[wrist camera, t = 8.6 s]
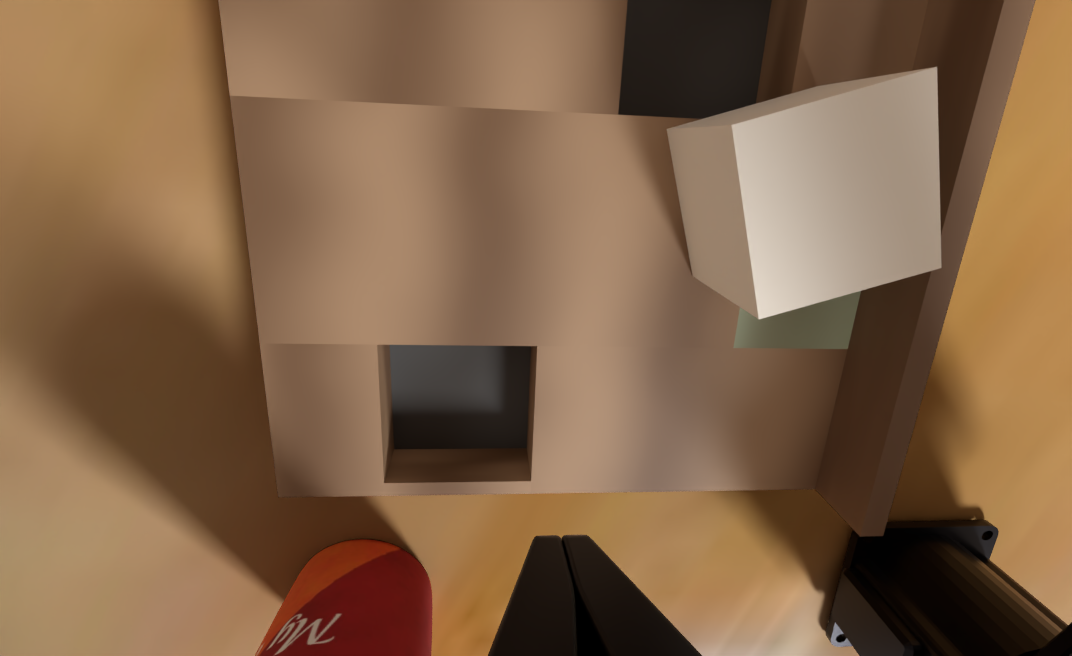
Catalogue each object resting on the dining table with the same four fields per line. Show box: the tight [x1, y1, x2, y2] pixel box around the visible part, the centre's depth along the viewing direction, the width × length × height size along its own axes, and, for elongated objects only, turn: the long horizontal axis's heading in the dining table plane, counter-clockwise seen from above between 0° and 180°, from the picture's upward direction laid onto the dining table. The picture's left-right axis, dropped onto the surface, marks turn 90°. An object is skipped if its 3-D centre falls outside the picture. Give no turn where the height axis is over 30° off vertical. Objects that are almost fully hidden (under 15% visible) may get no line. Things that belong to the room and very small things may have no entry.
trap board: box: [218, 0, 1035, 537], centre depth 17 cm, size 20×18×5 cm
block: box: [667, 67, 942, 319], centre depth 15 cm, size 4×4×4 cm
